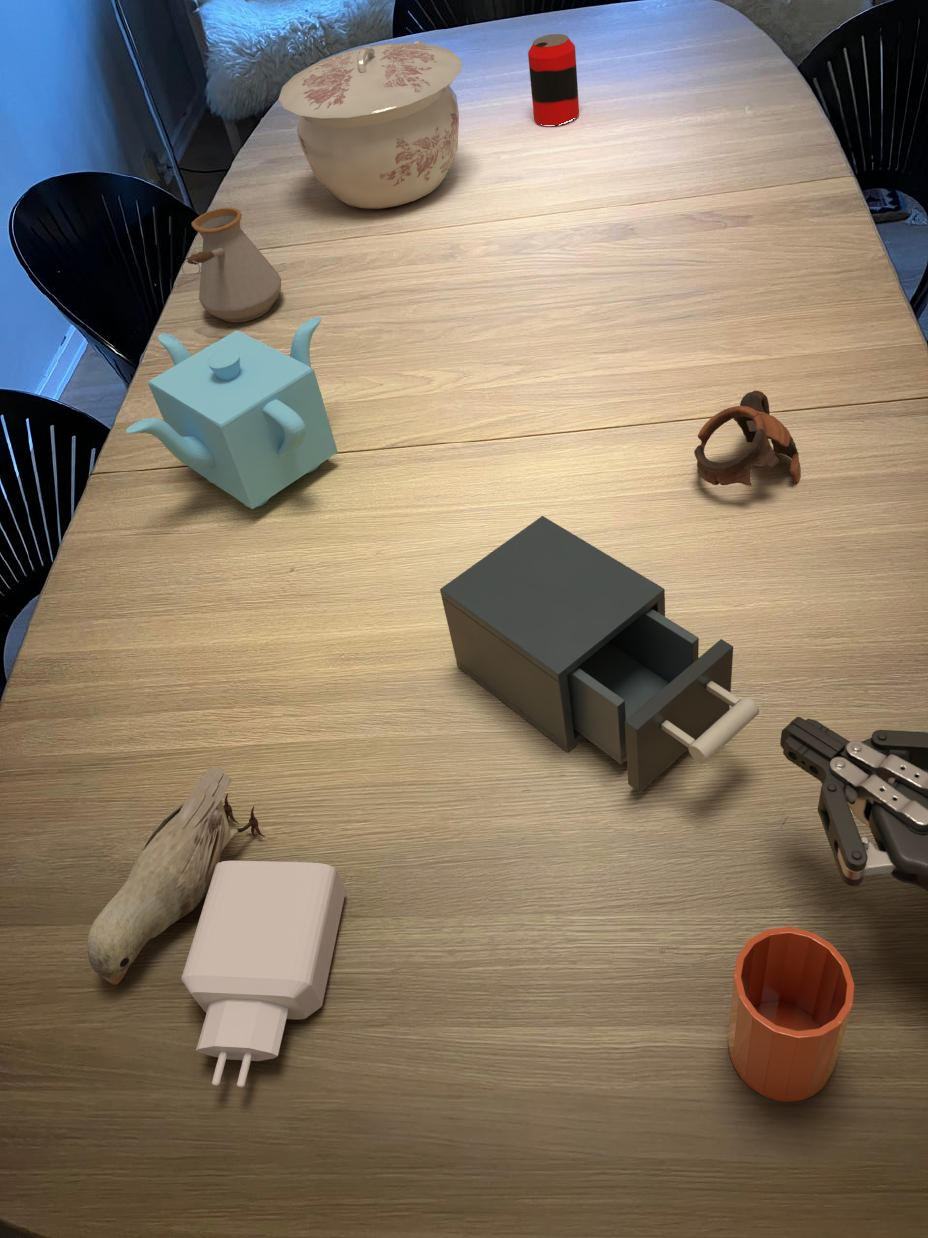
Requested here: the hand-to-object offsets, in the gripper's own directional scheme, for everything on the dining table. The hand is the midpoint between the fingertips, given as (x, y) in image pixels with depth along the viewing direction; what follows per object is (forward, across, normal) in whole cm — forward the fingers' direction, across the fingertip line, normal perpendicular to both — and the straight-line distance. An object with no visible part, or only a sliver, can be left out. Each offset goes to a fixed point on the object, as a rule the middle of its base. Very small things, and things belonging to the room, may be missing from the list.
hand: (788, 730), depth 68 cm
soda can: (+110, +86, -11) cm, 140 cm away
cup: (-10, -13, -12) cm, 20 cm away
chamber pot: (+113, +53, -11) cm, 126 cm away
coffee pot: (+98, +14, -11) cm, 100 cm away
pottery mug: (+27, +32, -11) cm, 43 cm away
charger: (+17, -35, -12) cm, 40 cm away
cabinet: (+23, 0, -11) cm, 25 cm away
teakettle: (+70, -1, -11) cm, 71 cm away
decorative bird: (+28, -35, -12) cm, 46 cm away
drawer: (+13, 0, -10) cm, 17 cm away
